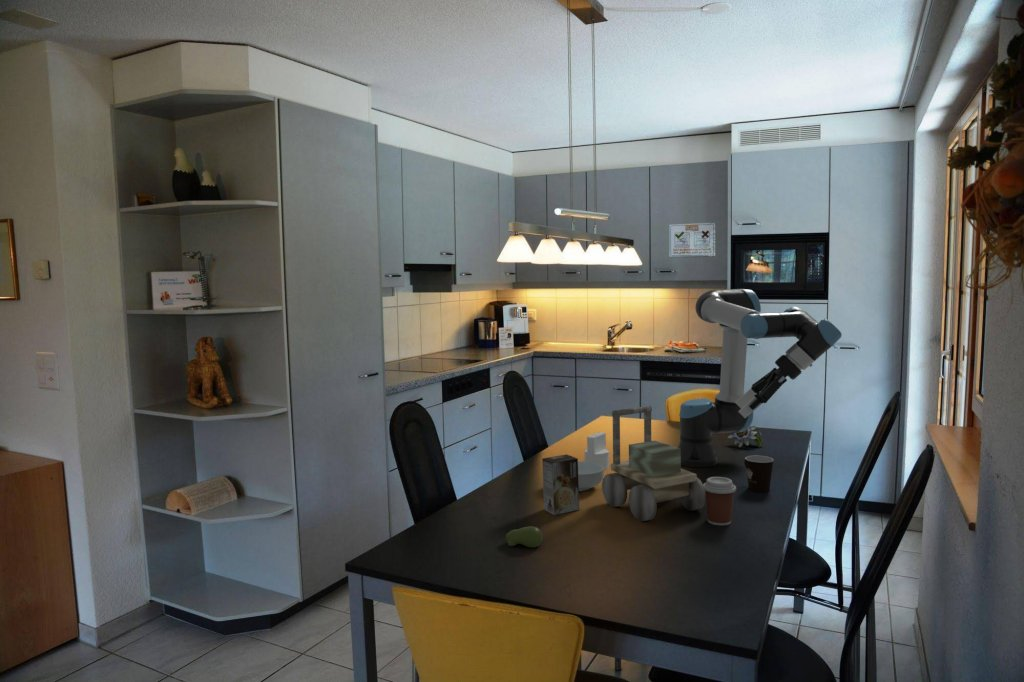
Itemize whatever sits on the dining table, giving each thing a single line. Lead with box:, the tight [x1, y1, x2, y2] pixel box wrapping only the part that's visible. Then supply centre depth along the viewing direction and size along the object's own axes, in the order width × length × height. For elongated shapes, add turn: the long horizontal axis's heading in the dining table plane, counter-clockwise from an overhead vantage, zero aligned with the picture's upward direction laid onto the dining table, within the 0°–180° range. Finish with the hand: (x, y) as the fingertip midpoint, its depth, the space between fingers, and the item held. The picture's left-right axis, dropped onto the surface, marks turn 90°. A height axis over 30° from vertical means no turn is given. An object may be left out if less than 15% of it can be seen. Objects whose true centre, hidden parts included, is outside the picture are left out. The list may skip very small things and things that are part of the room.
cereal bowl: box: [578, 460, 605, 492], centre depth 224 cm, size 17×17×7 cm
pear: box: [505, 525, 543, 549], centre depth 177 cm, size 6×5×10 cm
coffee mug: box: [743, 454, 774, 493], centre depth 219 cm, size 12×9×10 cm
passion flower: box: [726, 425, 764, 448], centre depth 274 cm, size 11×11×12 cm
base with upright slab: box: [584, 431, 610, 470], centre depth 248 cm, size 9×9×12 cm
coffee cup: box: [702, 476, 737, 527], centre depth 190 cm, size 9×9×12 cm
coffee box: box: [541, 454, 580, 516], centre depth 202 cm, size 9×6×16 cm
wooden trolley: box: [601, 405, 706, 522], centre depth 202 cm, size 24×21×29 cm
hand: (739, 410), depth 205 cm, fingers open, 13 cm apart
